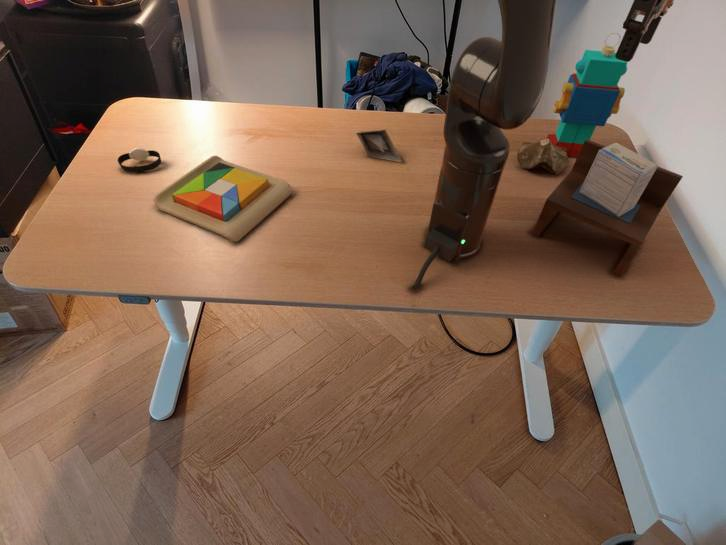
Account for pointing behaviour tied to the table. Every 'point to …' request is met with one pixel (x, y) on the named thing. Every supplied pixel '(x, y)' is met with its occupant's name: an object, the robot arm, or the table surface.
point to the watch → (139, 155)
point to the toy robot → (588, 98)
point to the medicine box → (617, 178)
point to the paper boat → (378, 145)
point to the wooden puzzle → (223, 197)
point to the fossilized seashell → (543, 156)
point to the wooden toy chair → (586, 210)
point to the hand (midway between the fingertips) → (632, 50)
